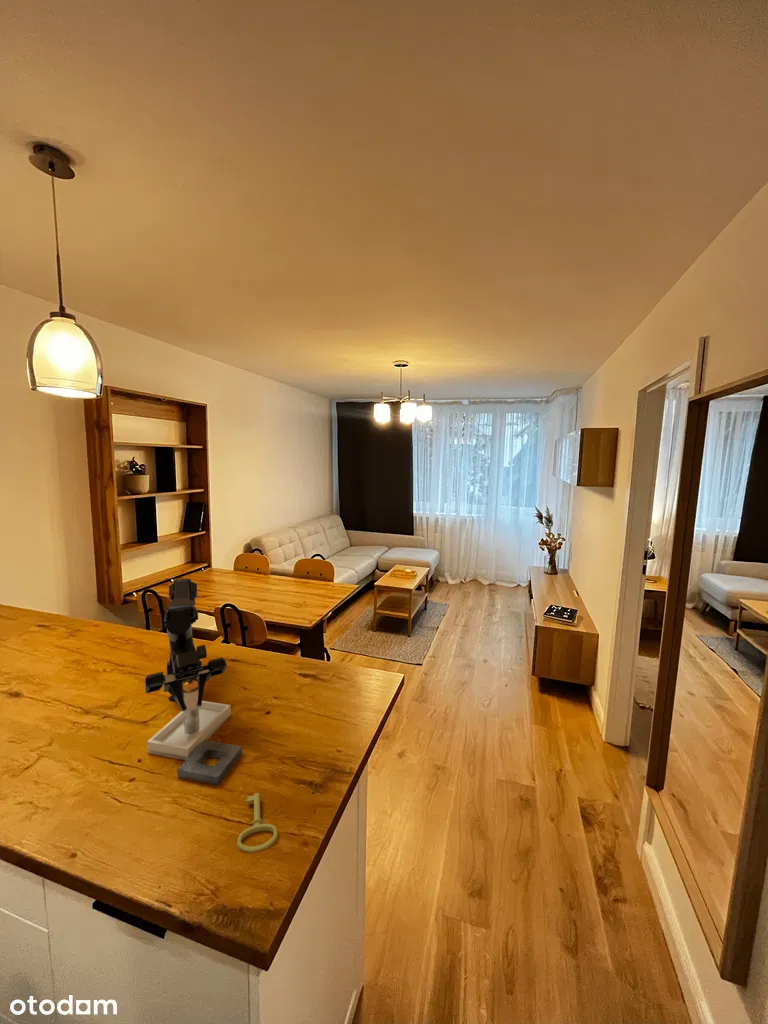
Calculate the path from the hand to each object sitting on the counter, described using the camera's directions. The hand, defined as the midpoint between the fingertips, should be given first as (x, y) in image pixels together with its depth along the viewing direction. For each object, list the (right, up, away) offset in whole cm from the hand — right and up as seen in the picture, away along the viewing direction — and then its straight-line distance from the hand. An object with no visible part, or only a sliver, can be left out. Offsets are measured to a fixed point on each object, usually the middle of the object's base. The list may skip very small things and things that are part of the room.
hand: (192, 708), depth 104 cm
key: (+23, -13, -22) cm, 34 cm away
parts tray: (-2, -8, +5) cm, 10 cm away
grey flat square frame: (+7, -10, -6) cm, 14 cm away
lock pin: (-1, -6, +2) cm, 7 cm away
